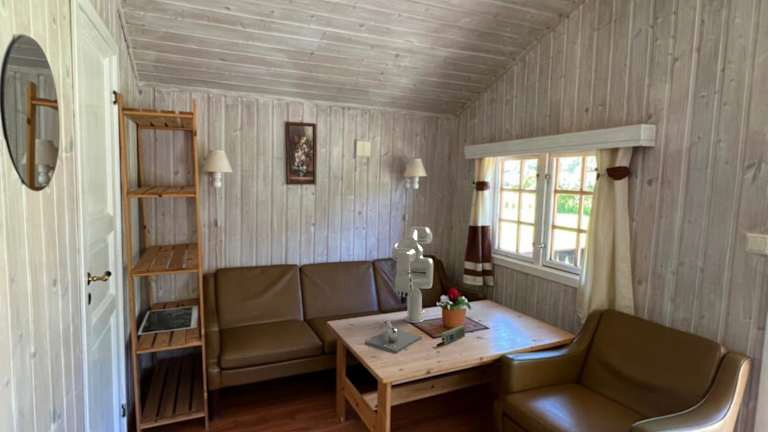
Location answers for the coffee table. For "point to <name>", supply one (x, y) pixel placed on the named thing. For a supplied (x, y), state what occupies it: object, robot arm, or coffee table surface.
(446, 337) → the handheld radio
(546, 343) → the coffee table surface
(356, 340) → the coffee table surface
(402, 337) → the stand plate
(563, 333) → the coffee table surface
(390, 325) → the bar with ball ends
